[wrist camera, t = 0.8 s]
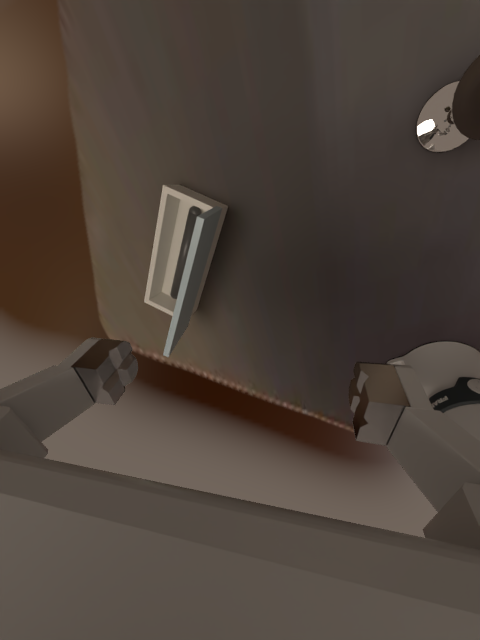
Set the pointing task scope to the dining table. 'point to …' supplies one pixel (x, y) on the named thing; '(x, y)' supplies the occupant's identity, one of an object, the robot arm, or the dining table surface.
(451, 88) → the wineglass
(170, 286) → the white open box
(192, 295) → the panel
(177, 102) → the dining table surface
